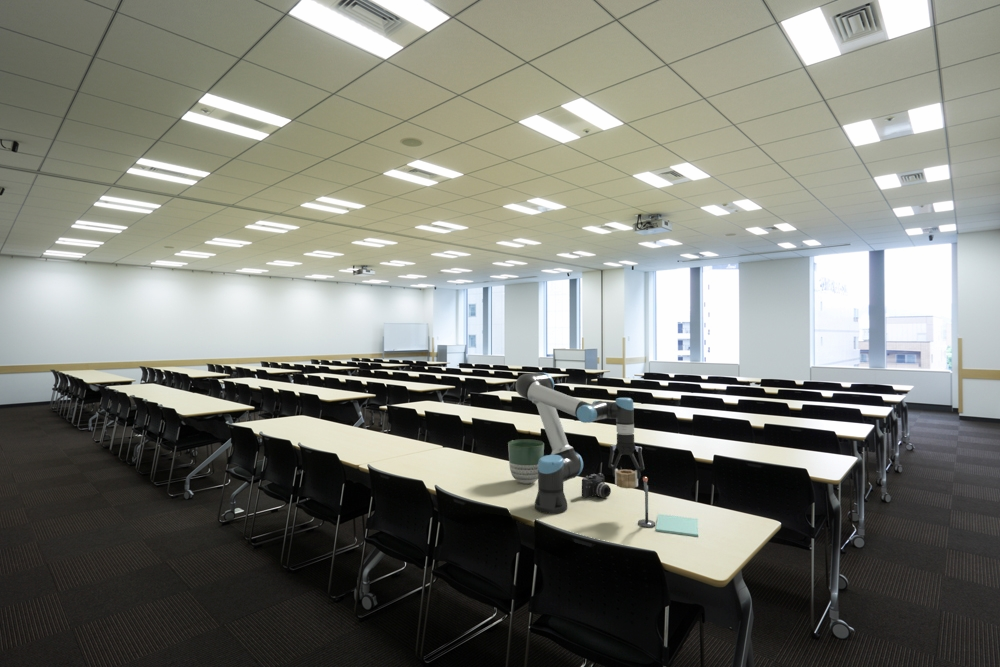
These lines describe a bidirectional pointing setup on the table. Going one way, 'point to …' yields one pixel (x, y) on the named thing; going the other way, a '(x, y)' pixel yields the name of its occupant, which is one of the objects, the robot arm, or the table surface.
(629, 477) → the ring
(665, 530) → the board
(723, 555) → the table surface
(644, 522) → the wire post
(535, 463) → the planter
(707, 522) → the table surface
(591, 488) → the camera
